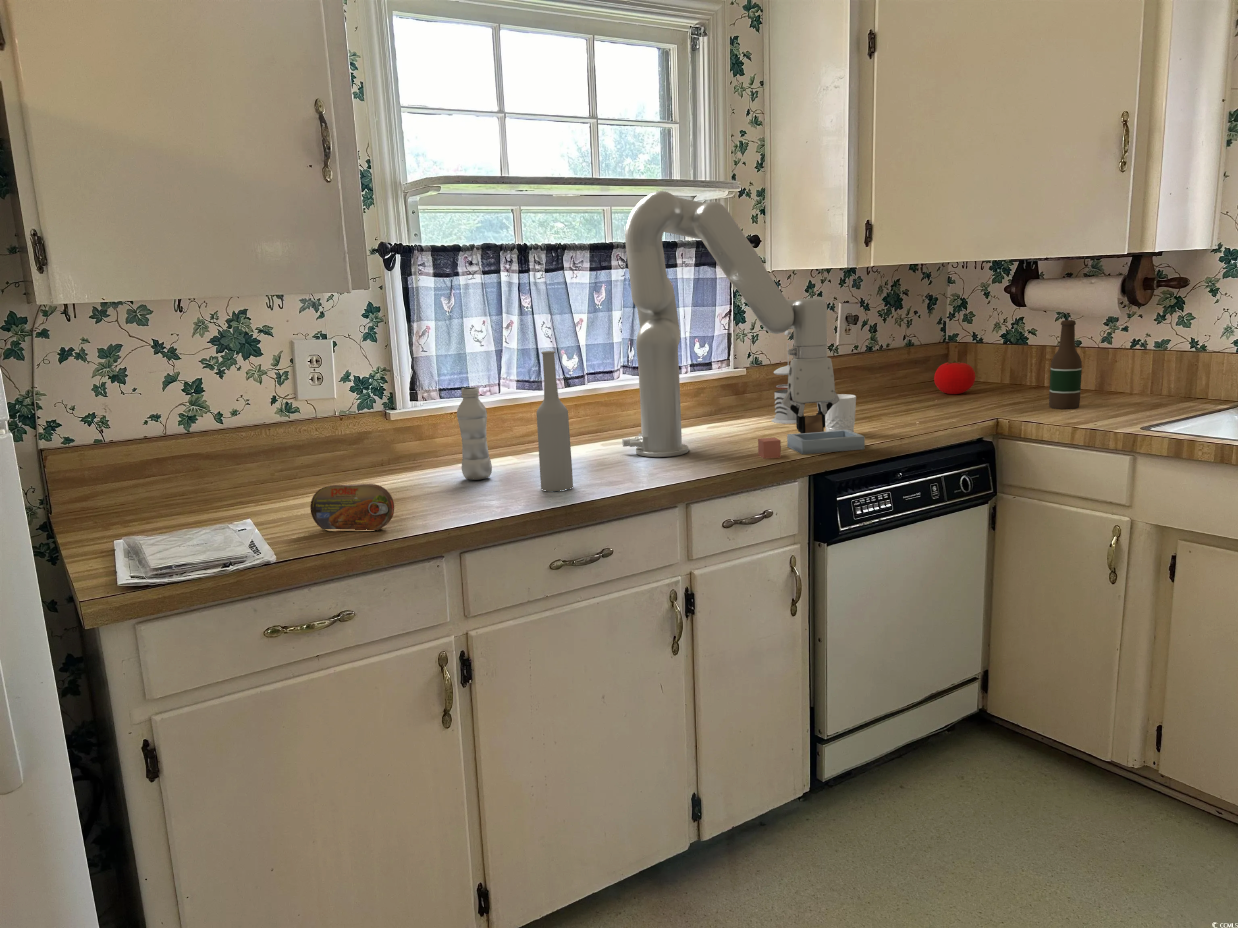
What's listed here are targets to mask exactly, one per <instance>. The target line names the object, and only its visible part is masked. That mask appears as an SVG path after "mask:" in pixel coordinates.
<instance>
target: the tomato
mask: <svg viewBox="0 0 1238 928" xmlns="http://www.w3.org/2000/svg"><path fill="white" fill-rule="evenodd" d="M933 381H934V384H935V386H936V387H937V389H938V390H939V391H940V392H942V393H943V394H944V393H945V394H947V395H961V394H963V393H965V392H967V391H968V390H970V389H971V388H972V387H973V386H974V384H975V381H976V371H975V370H974V368H973V366H971V365H970V364H968V363H967V362H962V361H957V360H953V361H947V362H946V361H945V362H944V363H942V364H941V365H939V366H938V367H937V368H936V370H935V373H934V376H933Z"/></svg>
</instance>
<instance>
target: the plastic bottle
mask: <svg viewBox="0 0 1238 928" xmlns="http://www.w3.org/2000/svg"><path fill="white" fill-rule="evenodd" d="M480 396H481V395H480V389H479V387H475V386H473V387H462V388H461V398H462V401H461V402H460V404H459V406H458V408H457V411H456V418H457V423H458V427H459V431H460V437H461V447H462V450H461V452H462V453H461V454H462V458H461V473H462V476H463V477H464V478H465V479H466V480H473V481H481V480H484V479H488V478H489V477H490V476H491V475H492V472H493V471H492V470H493V464H492V461H491V457H490V453H489V447H488V441H487V439H488V438H487V423H488V422H487V421H488V420H487V419H488V418H487V417H488V412H487V409H486V407H485V405H484V404H483V402H482V401H481V400H480V399H479V397H480Z"/></svg>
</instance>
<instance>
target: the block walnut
mask: <svg viewBox="0 0 1238 928" xmlns="http://www.w3.org/2000/svg"><path fill="white" fill-rule="evenodd" d="M804 416H805V433H815V432H823V428H822V415H816V414H812V415H804ZM799 433H800V432H799ZM800 434H802V433H800Z"/></svg>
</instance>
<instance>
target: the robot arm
mask: <svg viewBox="0 0 1238 928" xmlns="http://www.w3.org/2000/svg"><path fill="white" fill-rule="evenodd" d="M664 233H668V234H672V235H678V236H682V237H686V238H691V239H696V240H701V242H703V243H702V244H704V246H705V248H707V250H708V252H709V253H710V254H711V256H712V257H713V258H714V259H713V260H714V261H715V263H717V265H718V266H719V268H720V270H721V271H722V272H723V274H724V275H725V276H726V277H727V279H728V282H730V283H731V284H732V285H733V287H734V288H735V289H736V290H737V291H738V292H739V294H740V295H741V297H742V298H743V299H744V301H745V302H746V304H747V305H748V307H749V308H750V310H751V311H752V313H753V314H754V316H755V317H756V319H757V320H758V322H759V323H760V324H761V326H762V327H763V329H764V330H766V332H769V333H770V334H774V335H777V334H779V335H780V334H783V333H785V332H786V331H789V330H793V345H792V348H790V349H788V348H787V356H788V355H789V356H792V357H793V359H792V358H791V360H790V363H789V365H790V369H789V376H788V375H787V384H788V389H787V390H788V392H787V394H786V395H785V397H784V399H783V401H782V405H784V406H786V407H787V408H789V409H790V410H791V411H792V412H794V414H795V415H796V423H795V424H796V425H795V426H796V429H797V431H798V432H799V433H805V416H806V415H804V412H805V406H806V405H805V404H816V406H817V412H816V414H815V415H822V428H823V432H824V431H825V429H826V426H825V415H826V414H827V412H828V410H829V409H830V408H831V407H832V406H833V405H834V404H836V403H837V402H839V400H840V399H839V397H838V395H837V394H838V393H837V392H836V387H835V386H836V385H835V384H836V383H835V375H834V368H833V362H832V357H831V358H830V357H828V305H827V301H826V300H825V299H824V298H820V297H816V298H815V297H809V298H800V299H797V300H796V299H787V298H786V297H785V295H784V294H783V293H782V290H780V288H779V286H777V283H775V281H774V280H773V278H772V277H771V275H770V273H769V272H768V270H767V268H766V267H765V265H764V263H763V261H762V259H761V257H760V256H759V254H758V252H757V251H756V249H755V248H754V247H753V245H752V244H751V242H750V241H749V239H748V238H747V237H746V235H745V234H744V232H743V231H742V229H741V228H740V227H739V224H738V223H737V222H736V220H735V219H734V217H733V215H731V213H730V212H729V210H728V209H727V207H725V206H724V204H722V203H720V202H718V201H708V202H702V201H698V200H697V201H696V200H691V199H687V198H682V197H678V196H676V195H673V193H671V192H668V191H664V190H659V191H658V190H657V191H654V192H651V193H649V194H648V195H646V196H645V197H643V198H642V199H640V201H639V202H638V203H637V204H636V205H635V206H634V208H633V209H632V210H631V212H630V213H629V216H628V219H627V223H626V226H625V233H624V234H625V235H624V237H625V238H624V241H625V250H626V259H627V267H628V275H629V281H630V292H631V299H632V302H633V304H634V306H635V307H636V309H637V310H636V311H637V316H638V322H639V331H638V333H637V336H636V343H635V345H636V346H635V347H636V359H637V366H638V367H637V368H638V384H639V385H638V386H639V387H638V388H639V403H640V404H639V406H640V426H641V430H640V431H641V432H639V433H638V436H635V437H634V438H632V437H631V438H630V437H629V438H622V440H621V443H622V447H624V448H625V447H626V448H627V447H629V448H634V447H636V449H635V452H636V453H635V454H636V455H638V456H641V457H647V458H665V457H666V458H667V457H676V456H682V455H684V454H686V453H688V452H689V451H690V450H689V446H688V445H687V444H684V443H683V442H682V441H683V438H682V437H683V436H682V433H683V432H682V413H681V412H682V411H681V410H682V409H681V405H682V404H681V387H680V386H681V385H680V384H681V383H680V382H681V381H680V367H679V366H680V364H679V362H680V361H679V344H680V342H681V330H680V323H679V315H678V310H677V302H676V294H675V289H674V285H673V283H672V281H671V280H670V278H669V277H668V274H667V270H666V269H667V268H666V261H665V252H664V247H663V246H664V245H663V235H664ZM790 401H793V402H795V403H796V404H795V405H793V404H791V403H790Z"/></svg>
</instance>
